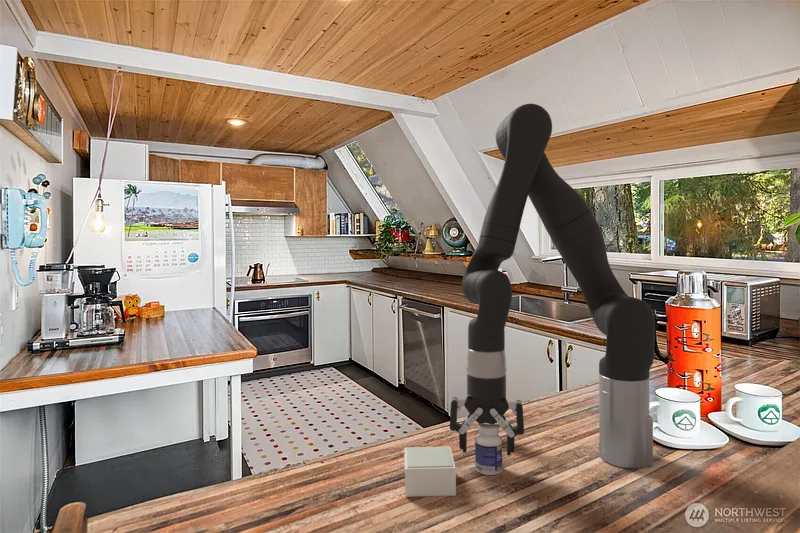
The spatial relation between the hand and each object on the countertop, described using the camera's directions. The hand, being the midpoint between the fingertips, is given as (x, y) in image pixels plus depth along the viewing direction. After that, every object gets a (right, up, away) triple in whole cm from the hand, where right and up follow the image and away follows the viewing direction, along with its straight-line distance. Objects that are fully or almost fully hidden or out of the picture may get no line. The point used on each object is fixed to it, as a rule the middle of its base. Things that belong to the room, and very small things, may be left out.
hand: (486, 452), depth 96 cm
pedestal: (-12, -4, -5) cm, 13 cm away
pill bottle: (0, -4, 0) cm, 4 cm away
